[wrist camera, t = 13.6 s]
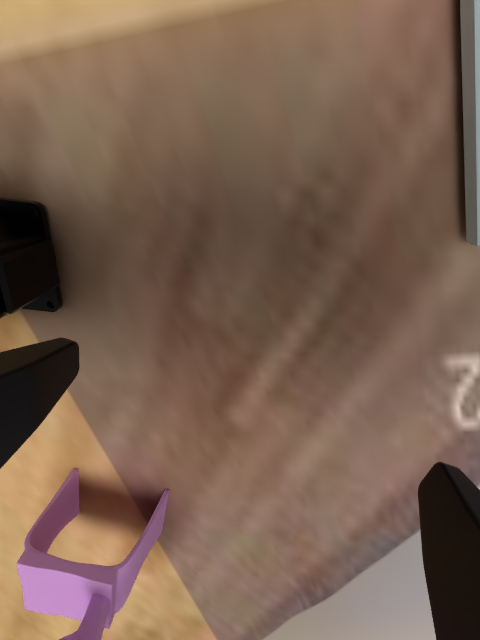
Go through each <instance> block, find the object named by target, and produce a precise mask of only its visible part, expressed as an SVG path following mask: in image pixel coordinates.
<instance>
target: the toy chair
mask: <svg viewBox="0 0 480 640" xmlns="http://www.w3.org/2000/svg"><path fill="white" fill-rule="evenodd" d="M168 495H169V490H168V489H165V491H164V493H163V495H162V497H161V499H160V501H159V503H158V505H157V507H156V509H155V511H154V513H153V515H152V517H151V519H150V521H149V522H148V524H147V526H146V528H145V530H144V532H143V533H142V535H141V537H140V539H139V540H138V542H137V543H136V545H135V546H134V548H133V549H132V551H131V552H130V554H129V555H128V556H127V557H126V559H125V560H124V561H123V562H121V563H120V564H118V565H114V566H101V565H94V564H85V563H77V562H72V561H68V560H64V559H61V558H58V557H56V556H53V555H50V554H47V551H48V549H49V547H50V545H51V544H52V542H53V540H54V539H55V538H56V536H57V535H58V534H59V532H60V531H61V530H62V529H63V528H64V527H65V526H66V525H67V524H68V523H69V522H70V521H71V520H72V519H73V518H75V517H76V516H77V515H78V514H79V512H80V509H79V470H78V469H77V468H74V469H73V470H72V472H71V473H70V475H69V476H68V478H67V479H66V480H65V482H64V483H63V485H62V486H61V488H60V489H59V490H58V492H57V493H56V495H55V496H54V498H53V499H52V500H51V502H50V503H49V505H48V506H47V507H46V509H45V510H44V511H43V513H42V514H41V515H40V517H39V518H38V520H37V521H36V522H35V524H34V525H33V527H32V528H31V530H30V531H29V533H28V534H27V537H26V539H25V543H24V547H25V551H24V552H23V554H22V556H21V557H20V559H19V560H18V562H17V563H16V564H17V569H18V574H19V577H20V580H21V583H22V588H23V599H24V606H25V610H30V611H34V612H38V613H43V614H52V615H60V616H64V617H69V618H73V619H77V620H80V621H82V623H81V625H80V627H79V629H78V630H77V631H76V632H74V633H73V634H70V635H67V636H65V637H63V638H61V639H59V640H101V637H102V633H103V630H104V628H108V629H109V628H110V626H111V623H112V620H113V617H114V614H115V613H117V612H118V611H119V610H120V609H121V608H122V607H123V605H124V604H125V602H126V600H127V598H128V596H129V593H130V591H131V589H132V587H133V584H134V582H135V580H136V577H137V575H138V573H139V571H140V569H141V566H142V564H143V562H144V560H145V559H146V557H147V555H148V553H149V551H150V550H151V548H152V547H153V545H154V543H155V542H156V540H157V539H158V538H159V536H160V535H161V533H162V530H163V524H164V519H165V513H166V507H167V501H168Z"/></svg>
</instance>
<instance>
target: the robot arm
mask: <svg viewBox="0 0 480 640" xmlns="http://www.w3.org/2000/svg"><path fill="white" fill-rule="evenodd" d="M33 208H34V209H35V210H36V211H37V215H35V214H34V212H33ZM51 301H52V302H53V303H54V305H55V306H54V305H52V304H51ZM61 307H62V299H61V294H60V288H59V277H58V271H57V265H56V260H55V254H54V248H53V244H52V243H51V237H50V232H49V226H48V221H47V215H46V211H45V208H44V207H43V206H42V205H41V204H40V203H38V202H33V201H23V200H13V199H3V198H0V318H2V317H4V316H5V315H7V314H12V313H14V312H16V311H17V310H19V309H21V308H23V309H31V310H40V311H48V312H55V311H57V310H58V309H60V308H61ZM78 371H79V346H78V344H77V343H76V342H75V341H72V340H69V339H66V338H57V339H53V340H49V341H45V342H41V343H37V344H33V345H29V346H24V347H20V348H16V349H12V350H8V351H4V352H0V469H1V467H2V466H3V465H4V464H5V463H6V462H7V461H8V460H9V459H10V458H11V456H12V455H13V454H14V453H15V452H16V451H17V450H18V449H19V448H20V447H21V446H22V444H23V443H24V442H25V441H26V440H27V439H28V438H29V437H30V436H31V435H32V433H33V432H34V431H35V430H36V429H37V428H38V427H39V425H40V424H41V423H42V422H43V420H44V419H45V418H46V417H47V415H48V414H49V413H50V411H51V410H52V408H53V407H54V406H55V404H56V403H57V402H58V400H59V399H60V398H61V396H62V395H63V394H64V392H65V391H66V390H67V388H68V387H69V386H70V384H71V383H72V382H73V380H74V379H75V378H76V376H77V374H78ZM418 501H419V515H420V529H421V542H422V555H423V564H424V570H425V577H426V583H427V588H428V594H429V600H430V605H431V611H432V617H433V622H434V628H435V634H436V640H480V490H479V489H478V488H477V487H476V486H475V485H474V484H473V483H472V482H471V481H470V479H469V478H468V477H467V476H466V475H465V474H464V473H463V472H462V471H461V470H460V469H459V468H457V467H455V466H452V465H449V464H446V463H443V462H437V463H435V464H434V466H433V467H432V468H431V469H430V471H429V472H428V473H427V475H426V476H425V477H424V479H423V480H422V481H421V483H420V485H419V488H418Z"/></svg>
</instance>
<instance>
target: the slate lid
mask: <svg viewBox="0 0 480 640" xmlns="http://www.w3.org/2000/svg"><path fill="white" fill-rule="evenodd" d="M460 15H461V53H462V91H463V128H464V166H465V204H466V241H467V242H469V243H471V244H474V245H476V246H480V0H460Z"/></svg>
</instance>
